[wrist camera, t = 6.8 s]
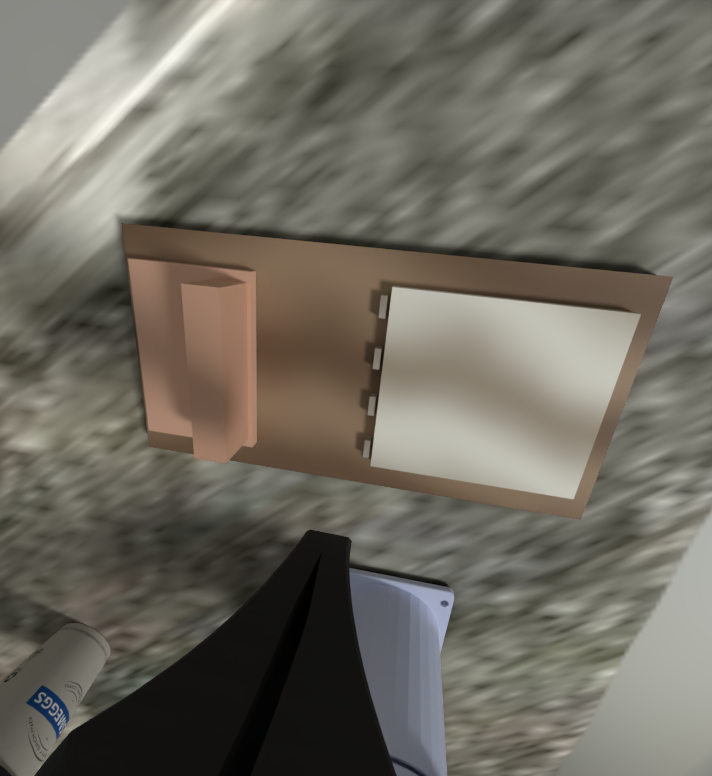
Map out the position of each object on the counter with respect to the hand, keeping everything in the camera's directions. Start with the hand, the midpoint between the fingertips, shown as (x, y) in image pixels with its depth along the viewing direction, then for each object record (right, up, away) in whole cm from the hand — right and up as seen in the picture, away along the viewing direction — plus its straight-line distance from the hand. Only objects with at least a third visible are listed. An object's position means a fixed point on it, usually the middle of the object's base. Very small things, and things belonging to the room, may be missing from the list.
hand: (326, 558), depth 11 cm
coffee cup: (-22, -16, +20) cm, 33 cm away
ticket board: (+1, +6, +8) cm, 10 cm away
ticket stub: (-7, +7, +8) cm, 12 cm away
